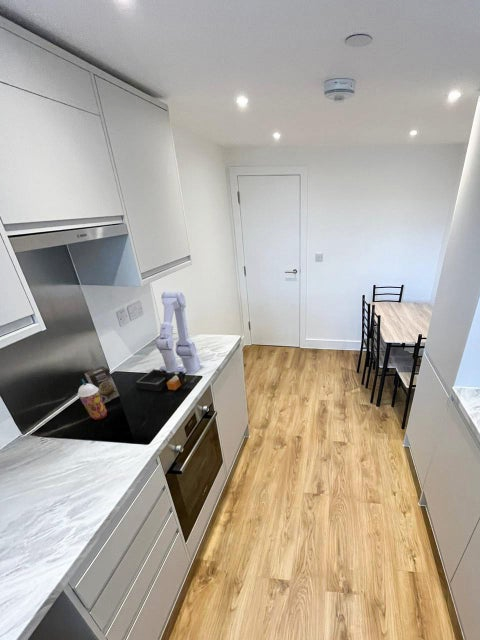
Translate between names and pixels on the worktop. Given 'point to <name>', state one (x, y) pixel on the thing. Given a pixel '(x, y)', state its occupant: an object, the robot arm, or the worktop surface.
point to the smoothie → (92, 400)
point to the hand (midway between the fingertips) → (177, 383)
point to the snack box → (174, 383)
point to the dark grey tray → (153, 380)
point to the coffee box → (103, 383)
